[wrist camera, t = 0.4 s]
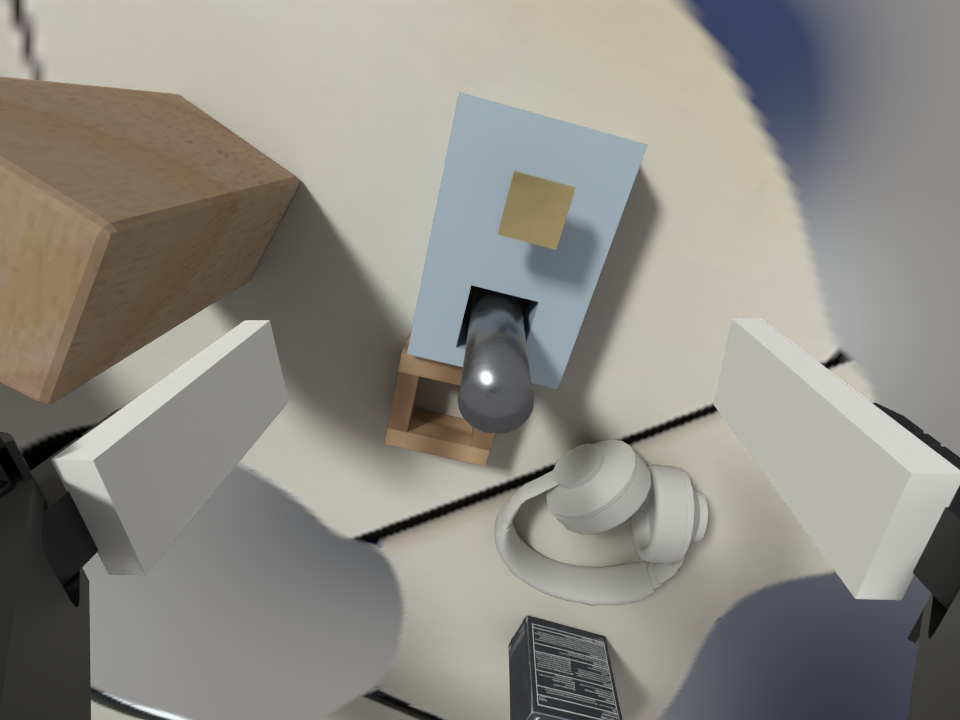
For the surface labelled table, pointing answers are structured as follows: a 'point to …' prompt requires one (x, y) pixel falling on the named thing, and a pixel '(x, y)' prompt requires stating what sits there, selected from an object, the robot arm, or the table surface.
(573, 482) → the headphones
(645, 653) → the table surface
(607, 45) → the table surface
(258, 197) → the wooden block
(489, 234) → the socket block
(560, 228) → the small square tan block
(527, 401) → the cylinder
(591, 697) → the small box
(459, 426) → the rack
